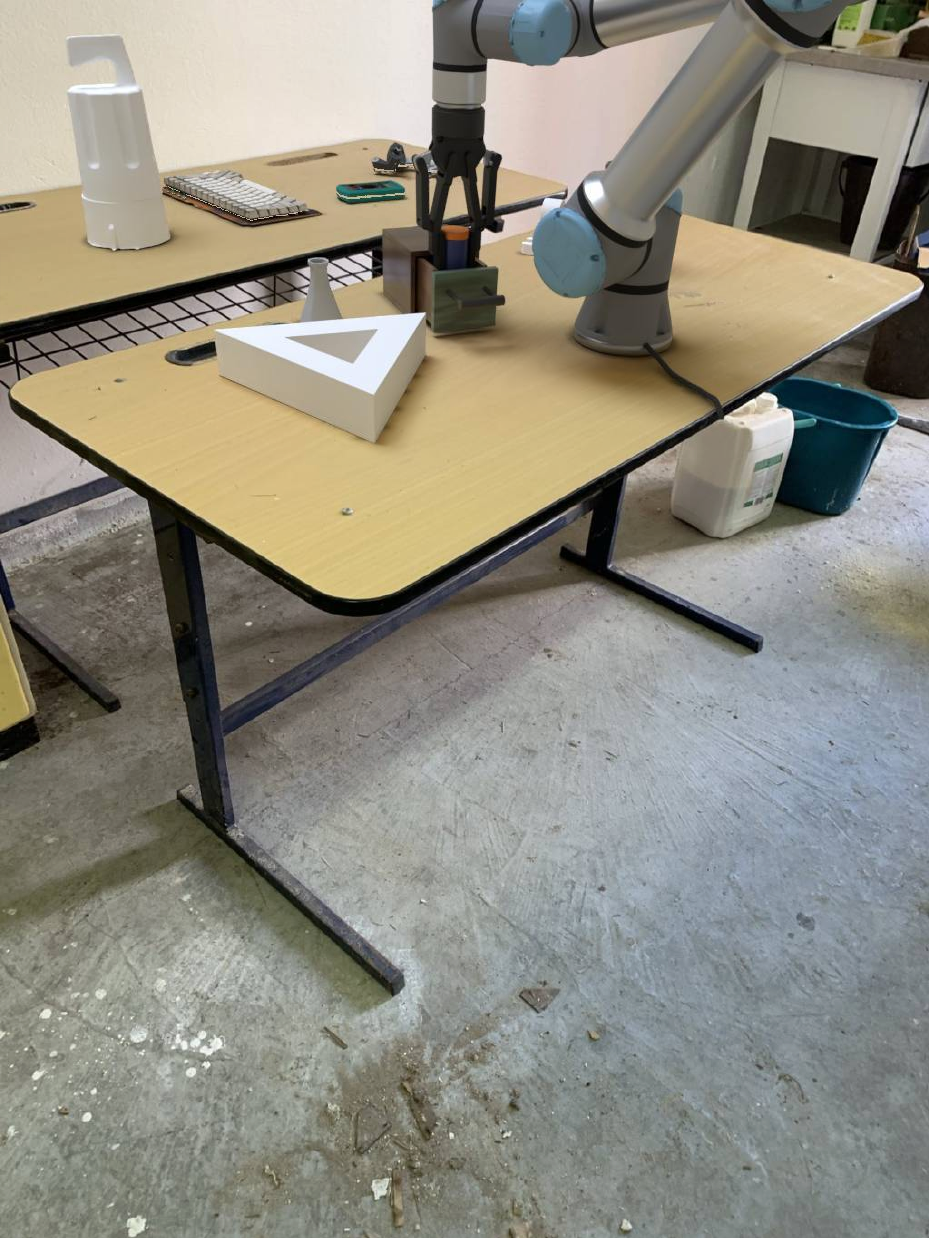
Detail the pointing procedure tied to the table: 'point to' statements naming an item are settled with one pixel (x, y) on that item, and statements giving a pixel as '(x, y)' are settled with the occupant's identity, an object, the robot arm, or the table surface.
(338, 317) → the flask
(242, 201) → the mechanical keyboard
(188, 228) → the table surface
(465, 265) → the glue stick
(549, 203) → the cable organizer
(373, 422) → the triangle block
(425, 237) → the cabinet
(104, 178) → the white piece
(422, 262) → the drawer
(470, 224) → the robot arm
